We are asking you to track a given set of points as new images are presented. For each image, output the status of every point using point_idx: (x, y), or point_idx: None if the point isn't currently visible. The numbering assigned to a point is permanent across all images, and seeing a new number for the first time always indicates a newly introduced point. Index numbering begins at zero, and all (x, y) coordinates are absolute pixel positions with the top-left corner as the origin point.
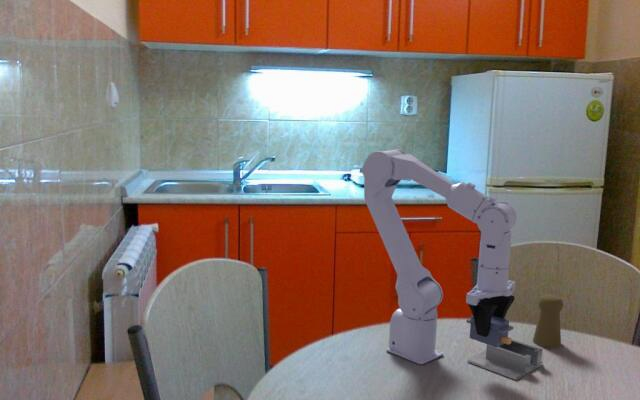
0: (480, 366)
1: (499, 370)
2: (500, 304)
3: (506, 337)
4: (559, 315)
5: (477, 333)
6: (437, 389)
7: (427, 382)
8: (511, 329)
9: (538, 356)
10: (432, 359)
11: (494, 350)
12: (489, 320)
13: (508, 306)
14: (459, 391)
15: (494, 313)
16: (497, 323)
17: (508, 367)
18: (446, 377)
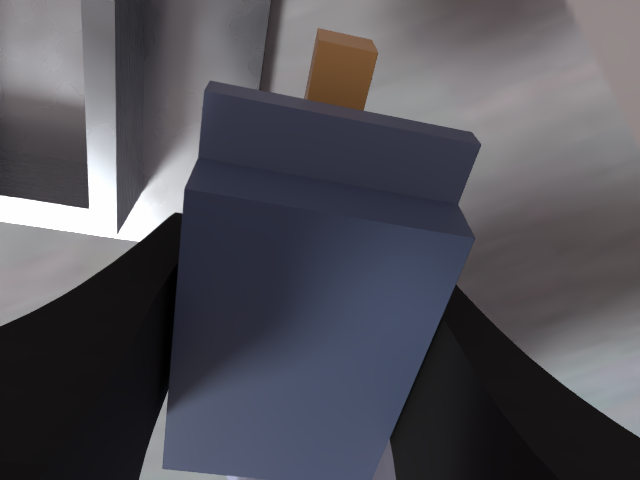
0: None
1: (252, 66)
2: (106, 472)
3: (327, 96)
4: None
5: None
6: (621, 236)
7: (567, 291)
8: (259, 91)
9: None
10: None
11: (124, 172)
12: (510, 356)
13: (18, 362)
14: (601, 153)
15: (151, 389)
16: (420, 263)
17: (166, 34)
18: (473, 253)
